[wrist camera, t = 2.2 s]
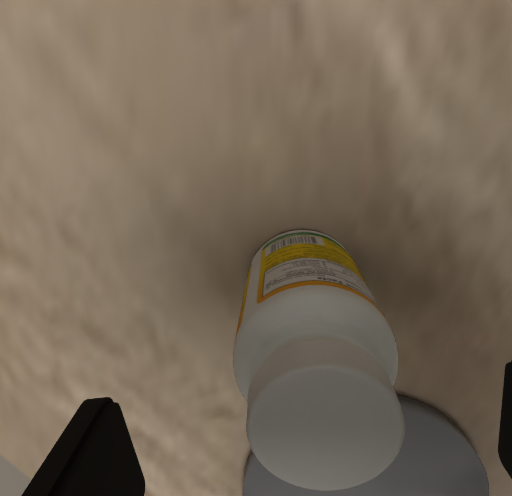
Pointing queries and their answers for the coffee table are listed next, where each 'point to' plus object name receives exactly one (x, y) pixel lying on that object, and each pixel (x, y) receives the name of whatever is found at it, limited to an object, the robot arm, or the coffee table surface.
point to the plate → (401, 464)
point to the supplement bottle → (316, 366)
